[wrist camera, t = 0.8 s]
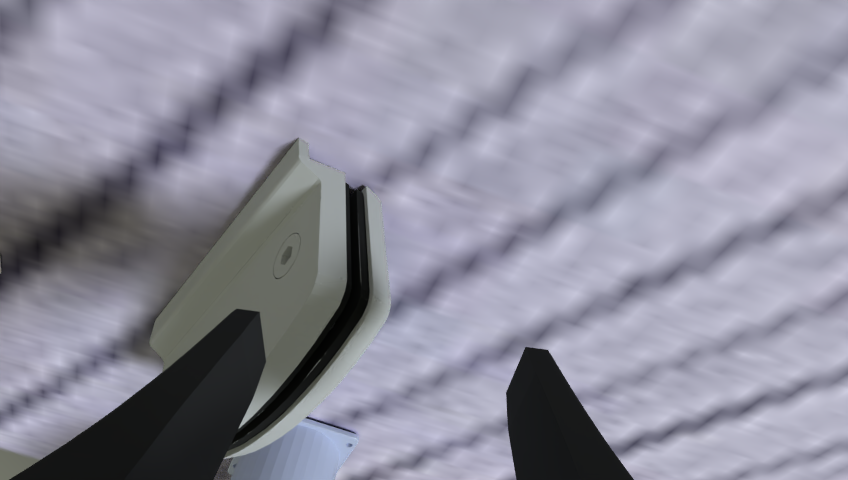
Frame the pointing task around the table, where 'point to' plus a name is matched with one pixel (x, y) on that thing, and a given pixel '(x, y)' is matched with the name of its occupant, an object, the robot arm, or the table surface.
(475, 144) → the table surface
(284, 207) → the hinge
